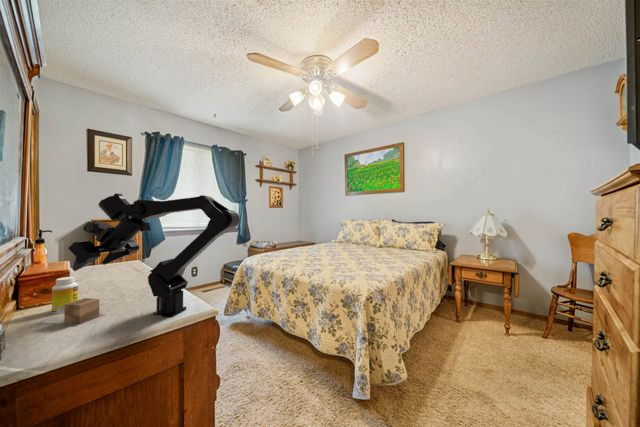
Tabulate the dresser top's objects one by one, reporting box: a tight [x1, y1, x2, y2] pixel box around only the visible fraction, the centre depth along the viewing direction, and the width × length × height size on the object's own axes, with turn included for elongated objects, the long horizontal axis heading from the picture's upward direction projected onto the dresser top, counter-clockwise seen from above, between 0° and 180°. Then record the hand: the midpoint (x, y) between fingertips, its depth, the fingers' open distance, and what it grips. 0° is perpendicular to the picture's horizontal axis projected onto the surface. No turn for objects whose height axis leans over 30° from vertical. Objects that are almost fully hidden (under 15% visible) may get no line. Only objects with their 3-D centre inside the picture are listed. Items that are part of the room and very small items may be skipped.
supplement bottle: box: [51, 276, 79, 315], centre depth 75 cm, size 6×6×10 cm
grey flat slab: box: [37, 313, 107, 328], centre depth 68 cm, size 12×8×1 cm, turn 82°
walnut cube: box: [63, 297, 100, 325], centre depth 68 cm, size 5×5×5 cm
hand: (89, 266), depth 75 cm, fingers open, 9 cm apart
